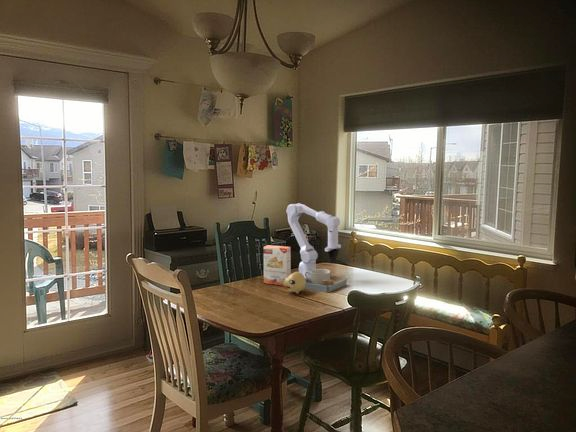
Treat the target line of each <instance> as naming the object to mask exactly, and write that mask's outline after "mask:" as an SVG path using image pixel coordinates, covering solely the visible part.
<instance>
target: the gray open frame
mask: <svg viewBox="0 0 576 432" xmlns="http://www.w3.org/2000/svg"><path fill="white" fill-rule="evenodd" d="M309 278H311V277H309ZM305 279H306V284H305V289H307V290H310V291H311V290H312V291H317V292H322V293H323V292H324V293H331V292H333V291H335V290H338V289H339V288H340V289H341V288H342V287H345V286H347V279H345V278H344V279H341V280H339V281H337V282H333V284H332V285H329V286H324V285H318V284H313V283H312V282H310V280H308V279H307V278H305Z"/></svg>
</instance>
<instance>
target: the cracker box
mask: <svg viewBox="0 0 576 432" xmlns="http://www.w3.org/2000/svg"><path fill="white" fill-rule="evenodd" d="M291 251H292V250H291V246H283V245H282V246H281V245H271V244H270V245H269V244H267V245H265V246H263V284H264V283H266V284H265V285H272V284H274V285H273V286H282V287H285V286H284V284H283V279H285V278H286V277H289V276H290V275H291V274H292V272H291V270H292V269H291V267H292V264H291V263H292V262H291V261H292V260H291V257H292V255H291Z"/></svg>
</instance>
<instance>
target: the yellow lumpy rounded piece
mask: <svg viewBox="0 0 576 432" xmlns="http://www.w3.org/2000/svg"><path fill="white" fill-rule="evenodd" d="M283 284H284V286H283V287H285V288H286V289H288V292H290V293H295V294H296V295H297V294H299V293H300V292H301V291H303V290H305V289H306V288H305V284H306V278H305V277H304V276H303V274H301V273H300V272H299V271H295V272H291V275H290V276H289V277H286V278H285V279H283Z"/></svg>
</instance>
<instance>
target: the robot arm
mask: <svg viewBox="0 0 576 432" xmlns="http://www.w3.org/2000/svg"><path fill="white" fill-rule="evenodd" d="M285 212H286V214H287V222H288V225H289V226H290V229H291V231H292V234H293V236H295V239H296V241H297V244H298V246H299V247H300V250H299V254H300V259H301V261H300V262H299V265H298V272H300V273H301V274H303V276H304V277H305V272H306V271H310V272H311V270H313V269H317V268H316V267H317V265H316V264H317V262H316V261H317V259H318V257H319V256H318V255H319V254H318V251H316V249H315V248H314V247H313V246H312V245H311V244H310V243H309V241H308V239H307V236H306V234H305V233H304V231H303V228H302V226H301V224H300V223H299V218H300V217H301V216H302V214H306V215H309V216H310V217H313V218H315V220H316V221H317V222H319V223H321V224H324V225H325V226H326V227H327V246H326V247H325V248H324V252H326V253H327V254H328V257H329V260H330V263H333V264H334V263H336V261H337V256H338V254H339V253H340V249H341V248H342V244H339V225H340V222H341V221H340V219H339V217H337V216H336V215H335V216H332V214H328V213H326V212H325V211H324V210H322V211H317V210H315V209H312V208H310V207H308V206H307V205H306V204H302V203H300V202H298V203H291V204H288V205H287V208H286V210H285ZM306 275H307V277H311V276H310V274H309V273H307V274H306ZM305 279H306V277H305Z"/></svg>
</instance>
